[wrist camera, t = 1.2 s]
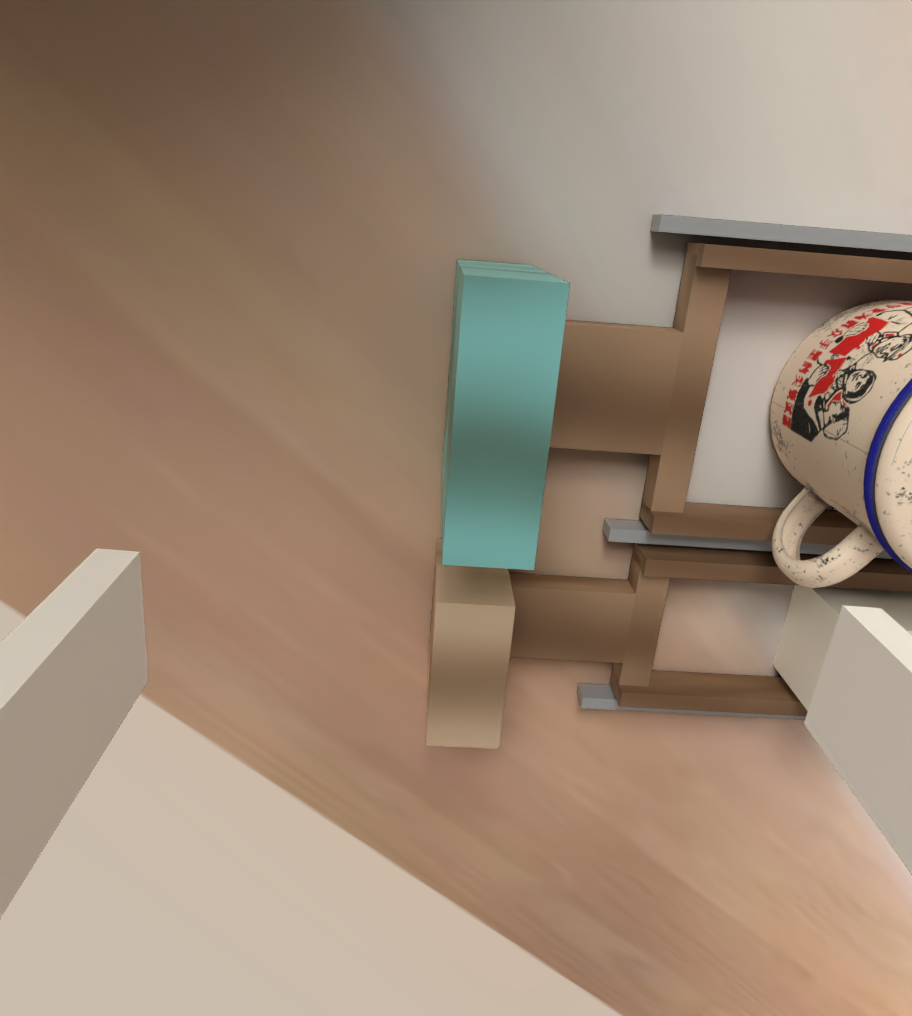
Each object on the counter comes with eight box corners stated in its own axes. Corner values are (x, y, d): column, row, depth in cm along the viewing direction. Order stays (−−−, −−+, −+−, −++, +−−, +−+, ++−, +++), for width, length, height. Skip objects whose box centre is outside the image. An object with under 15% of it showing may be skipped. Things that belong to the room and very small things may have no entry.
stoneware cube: (796, 573, 35) (852, 627, 30) (900, 579, 35) (970, 634, 31) (772, 664, 37) (820, 728, 32) (870, 669, 37) (933, 734, 32)
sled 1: (459, 223, 29) (468, 225, 20) (1102, 275, 30) (1359, 297, 22) (439, 503, 33) (439, 600, 25) (1004, 539, 34) (1188, 643, 26)
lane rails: (652, 214, 29) (661, 214, 28) (1135, 254, 30) (1161, 255, 29) (576, 693, 37) (581, 708, 36) (959, 713, 38) (975, 728, 37)
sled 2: (437, 528, 33) (436, 590, 28) (995, 562, 35) (1102, 629, 29) (427, 672, 36) (425, 755, 31) (944, 699, 37) (1033, 784, 32)
